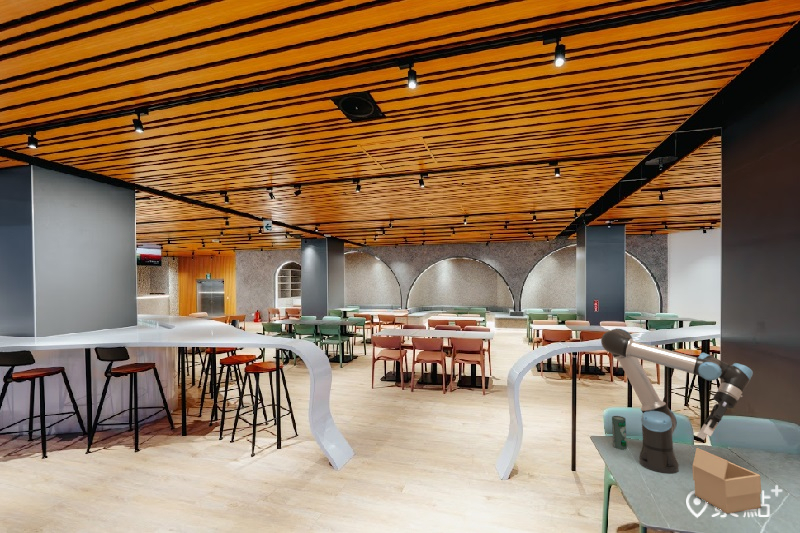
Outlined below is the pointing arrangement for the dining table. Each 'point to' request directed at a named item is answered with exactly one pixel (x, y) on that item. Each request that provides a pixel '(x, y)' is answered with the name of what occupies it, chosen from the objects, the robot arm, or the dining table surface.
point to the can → (619, 432)
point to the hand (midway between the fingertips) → (703, 436)
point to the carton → (729, 488)
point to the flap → (710, 463)
